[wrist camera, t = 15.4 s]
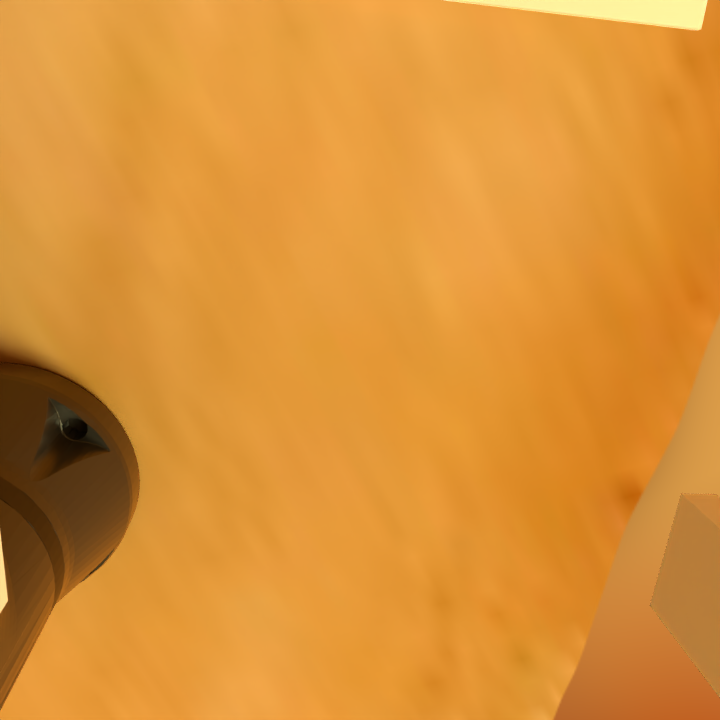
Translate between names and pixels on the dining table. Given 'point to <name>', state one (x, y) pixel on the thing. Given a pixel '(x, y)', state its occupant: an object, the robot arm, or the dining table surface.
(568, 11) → the paper sheet
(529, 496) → the dining table surface
